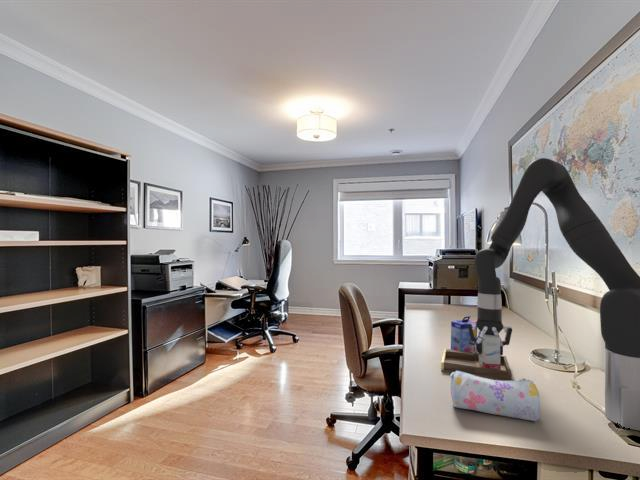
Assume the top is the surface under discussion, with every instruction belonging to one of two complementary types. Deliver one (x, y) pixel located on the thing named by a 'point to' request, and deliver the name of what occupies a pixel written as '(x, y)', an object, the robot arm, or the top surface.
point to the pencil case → (495, 396)
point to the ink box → (490, 352)
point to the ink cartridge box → (462, 335)
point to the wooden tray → (473, 365)
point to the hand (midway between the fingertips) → (489, 354)
